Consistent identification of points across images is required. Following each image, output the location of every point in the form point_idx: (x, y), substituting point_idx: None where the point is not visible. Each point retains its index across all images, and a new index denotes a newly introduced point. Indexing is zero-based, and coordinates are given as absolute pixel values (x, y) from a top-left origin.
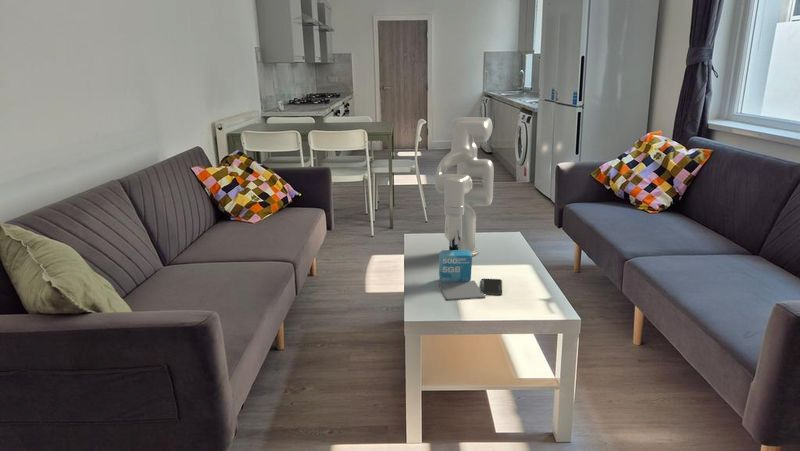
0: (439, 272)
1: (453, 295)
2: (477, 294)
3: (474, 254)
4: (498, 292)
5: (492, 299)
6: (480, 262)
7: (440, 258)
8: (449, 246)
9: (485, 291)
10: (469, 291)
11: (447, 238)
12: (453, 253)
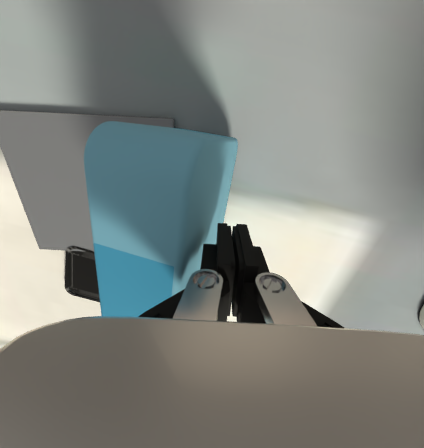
0: (200, 132)
1: (29, 148)
2: (52, 232)
3: (422, 323)
4: (78, 288)
5: (36, 260)
6: (348, 316)
7: (105, 122)
8: (245, 264)
9: (82, 260)
10: (77, 216)
11: (175, 332)
12: (123, 249)
